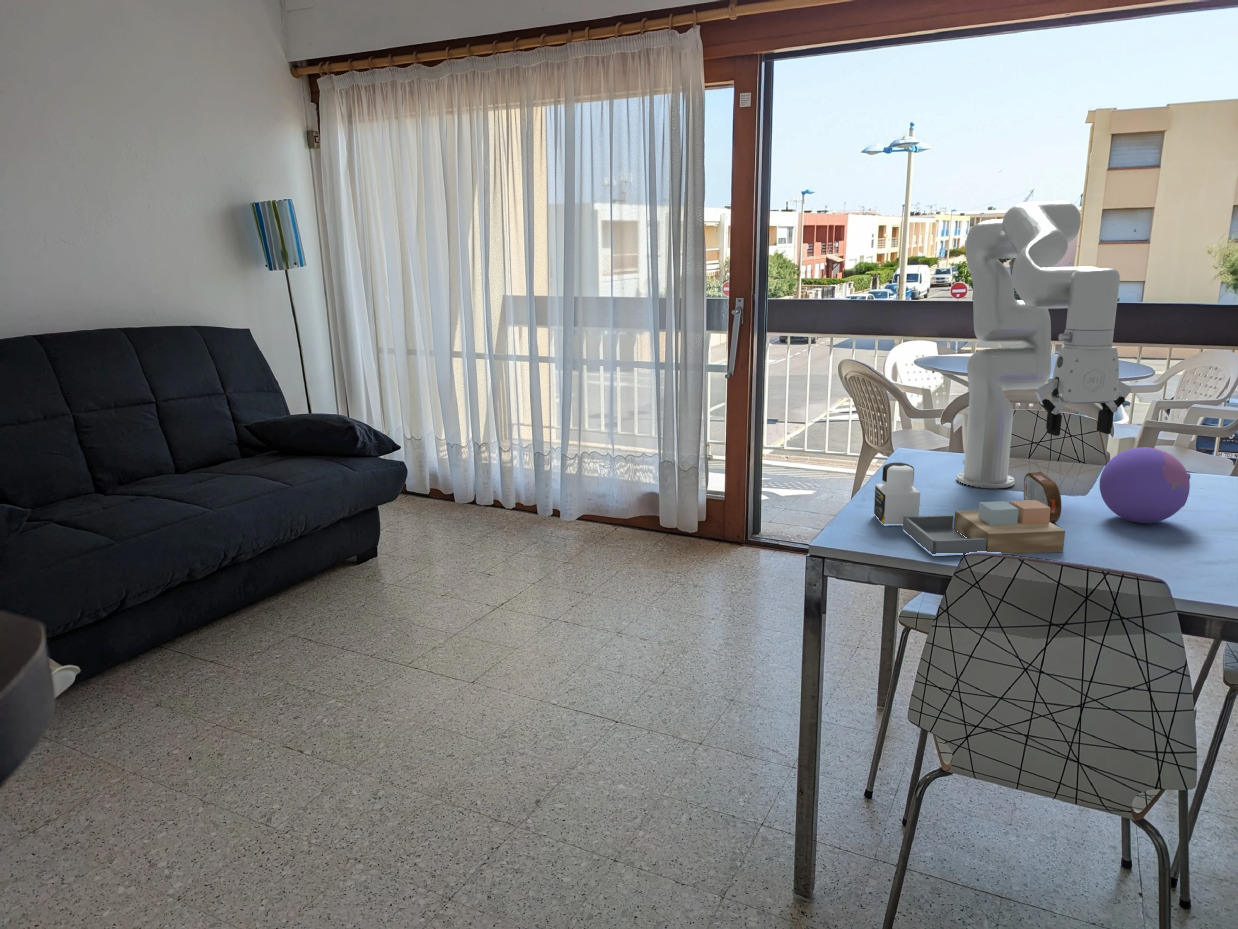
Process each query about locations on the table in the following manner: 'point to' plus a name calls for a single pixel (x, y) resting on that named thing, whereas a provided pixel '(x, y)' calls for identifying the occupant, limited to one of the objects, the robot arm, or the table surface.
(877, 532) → the table surface
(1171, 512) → the decorative ball
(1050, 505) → the tin
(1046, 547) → the board
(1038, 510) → the tile terracotta
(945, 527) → the tray
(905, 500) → the medicine bottle
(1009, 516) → the tile slate
